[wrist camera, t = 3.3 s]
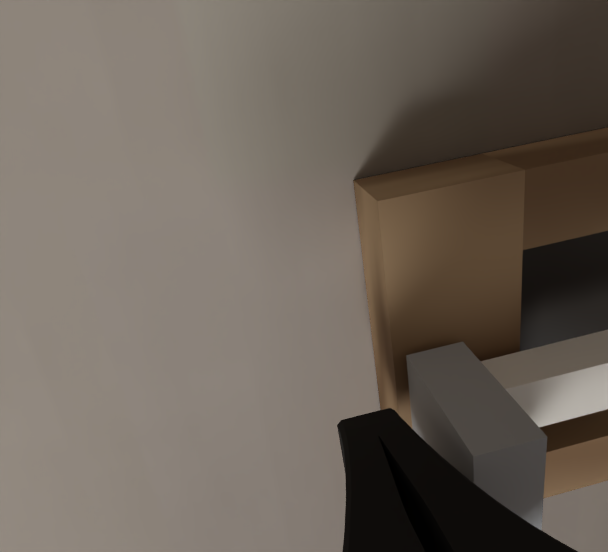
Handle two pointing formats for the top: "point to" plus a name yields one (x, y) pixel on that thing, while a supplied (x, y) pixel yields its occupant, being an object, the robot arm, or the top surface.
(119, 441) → the top surface
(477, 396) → the sliding frame
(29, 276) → the top surface
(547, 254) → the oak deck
